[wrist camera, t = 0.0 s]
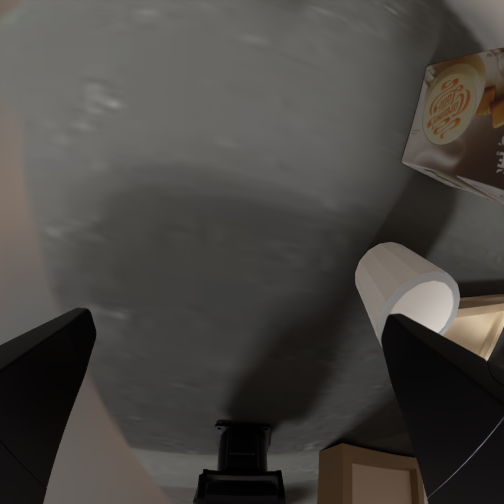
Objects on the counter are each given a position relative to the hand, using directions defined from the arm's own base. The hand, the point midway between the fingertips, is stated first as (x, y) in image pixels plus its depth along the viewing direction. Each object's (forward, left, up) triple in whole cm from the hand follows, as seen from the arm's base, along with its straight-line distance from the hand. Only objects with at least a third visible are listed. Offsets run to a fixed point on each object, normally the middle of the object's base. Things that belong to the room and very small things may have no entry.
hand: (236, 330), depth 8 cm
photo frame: (-42, -18, -15) cm, 48 cm away
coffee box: (+8, -16, -15) cm, 23 cm away
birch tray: (-14, -24, -15) cm, 32 cm away
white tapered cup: (-5, -12, -15) cm, 20 cm away
